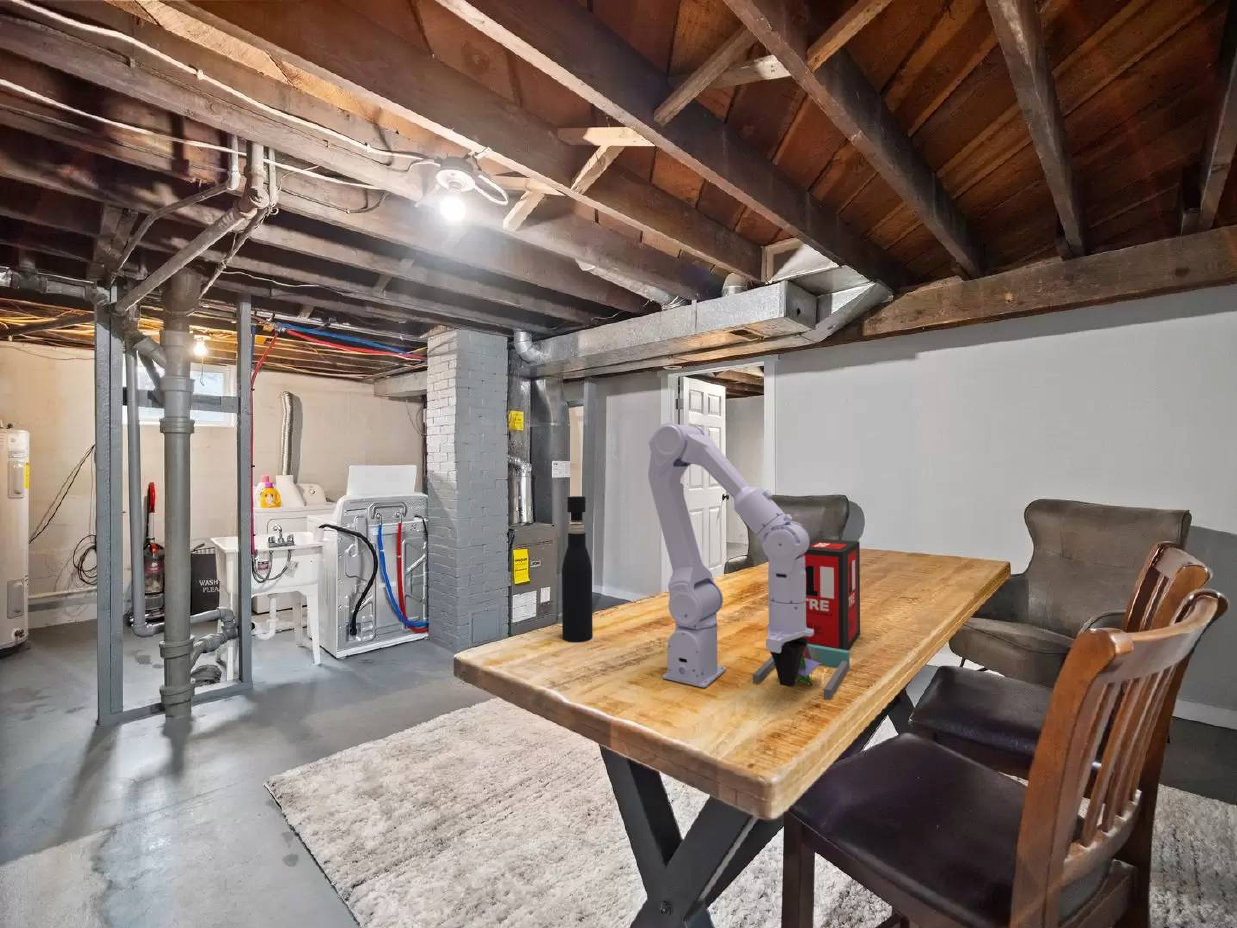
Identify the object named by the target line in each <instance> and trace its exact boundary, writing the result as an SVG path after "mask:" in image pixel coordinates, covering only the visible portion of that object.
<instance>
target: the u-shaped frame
mask: <svg viewBox="0 0 1237 928" xmlns="http://www.w3.org/2000/svg"><path fill="white" fill-rule="evenodd" d="M808 645H809V646H811V647H812V648H813V649H814V650H816V652H817V654H818V656H819V659H820V662H821V665H820V666H823V665H826V666H825V667H829V666H830V667H829V668H835V670H834V672H833V674H832V676H830V679H829V680H828V681H827V683H826V685H825V687H824V688H823V699H824V700H829V701H831V700H832V698H833V697H834V694H835V693H836V691H837V690H838V688H839V686H840V685H841V682H842V681H843V679H844V678H845V676H846V674H847V673H848V671H849V669H850V668H851V665H850V660H851V659H850V650H849V651H848V650H842V649H836V648H830V647H824V646H818V645H812V644H808ZM807 648H808V652H809V655H810V656H811V651H810V649H809V647H808V646H807ZM810 659H811V657H810ZM773 664H775V663H774V660H773V657H772V655H771V656H770V657H769V658H767V660H766V661H765V662H764V663H763V664H762V665H760V667H759V668H757V669H756V670H755V672H753V674H752V684H754V683H756V685H760V684H761V683H762V682H763V680H765V679H766V678H767V676H768V675H769V674H771V672H772V671H773V670H774V669H776V667H774V665H773ZM773 668H774V669H773ZM772 669H773V670H772ZM771 670H772V671H771ZM770 671H771V672H770ZM767 674H768V675H767ZM766 675H767V676H766ZM761 681H762V682H761ZM760 682H761V683H760ZM759 683H760V684H759Z"/></svg>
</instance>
